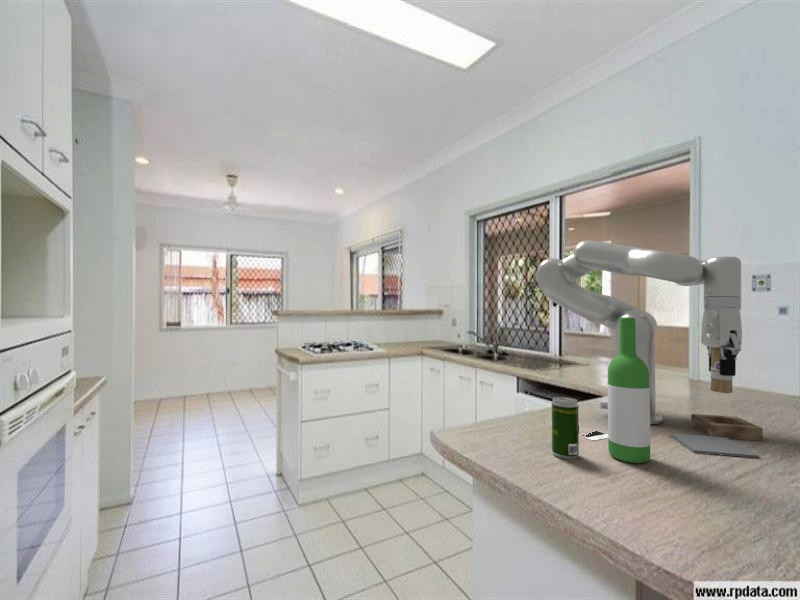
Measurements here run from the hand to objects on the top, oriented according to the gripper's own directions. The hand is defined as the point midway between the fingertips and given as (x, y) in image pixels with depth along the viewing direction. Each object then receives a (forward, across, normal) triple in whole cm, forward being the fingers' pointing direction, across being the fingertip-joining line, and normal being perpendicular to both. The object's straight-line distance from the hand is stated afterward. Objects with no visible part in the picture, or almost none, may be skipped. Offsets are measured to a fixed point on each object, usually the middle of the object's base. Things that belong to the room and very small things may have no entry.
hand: (721, 373), depth 100 cm
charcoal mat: (+15, +13, -8) cm, 22 cm away
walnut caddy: (+15, 0, +1) cm, 15 cm away
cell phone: (+16, +8, -36) cm, 41 cm away
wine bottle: (+16, +26, -29) cm, 42 cm away
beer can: (+16, +28, -42) cm, 53 cm away
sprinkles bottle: (+5, 0, 0) cm, 5 cm away
